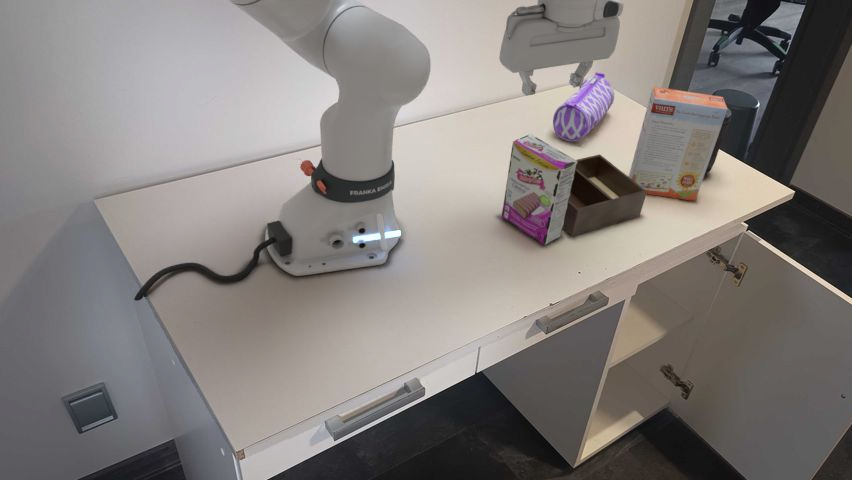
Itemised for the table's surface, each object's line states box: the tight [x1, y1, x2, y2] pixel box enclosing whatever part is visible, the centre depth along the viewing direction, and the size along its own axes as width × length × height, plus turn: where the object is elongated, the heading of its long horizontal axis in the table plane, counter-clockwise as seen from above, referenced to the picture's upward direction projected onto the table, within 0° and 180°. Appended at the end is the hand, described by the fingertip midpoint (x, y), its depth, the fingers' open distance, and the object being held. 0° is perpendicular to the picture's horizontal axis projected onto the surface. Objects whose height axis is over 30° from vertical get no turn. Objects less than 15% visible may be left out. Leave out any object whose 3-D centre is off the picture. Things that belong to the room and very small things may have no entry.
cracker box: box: [628, 86, 728, 202], centre depth 136 cm, size 14×6×21 cm, turn 84°
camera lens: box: [703, 107, 732, 179], centre depth 146 cm, size 8×8×15 cm
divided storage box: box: [562, 154, 648, 237], centre depth 133 cm, size 17×15×6 cm
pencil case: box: [552, 71, 615, 142], centre depth 158 cm, size 22×9×10 cm, turn 157°
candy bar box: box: [501, 133, 577, 246], centre depth 122 cm, size 11×5×16 cm, turn 47°
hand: (552, 89), depth 110 cm, fingers open, 8 cm apart
